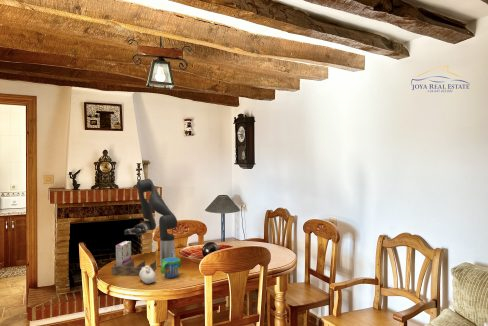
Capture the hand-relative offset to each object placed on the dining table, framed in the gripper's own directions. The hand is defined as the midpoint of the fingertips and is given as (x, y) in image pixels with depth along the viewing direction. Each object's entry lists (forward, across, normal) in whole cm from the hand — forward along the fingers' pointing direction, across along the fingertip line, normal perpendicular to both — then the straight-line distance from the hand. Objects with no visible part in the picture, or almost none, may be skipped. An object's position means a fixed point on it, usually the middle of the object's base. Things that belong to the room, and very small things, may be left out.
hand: (131, 233), depth 245 cm
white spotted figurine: (+31, +22, +22) cm, 44 cm away
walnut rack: (+14, +8, +21) cm, 27 cm away
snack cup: (+21, +33, +22) cm, 45 cm away
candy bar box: (+14, 0, +20) cm, 24 cm away
